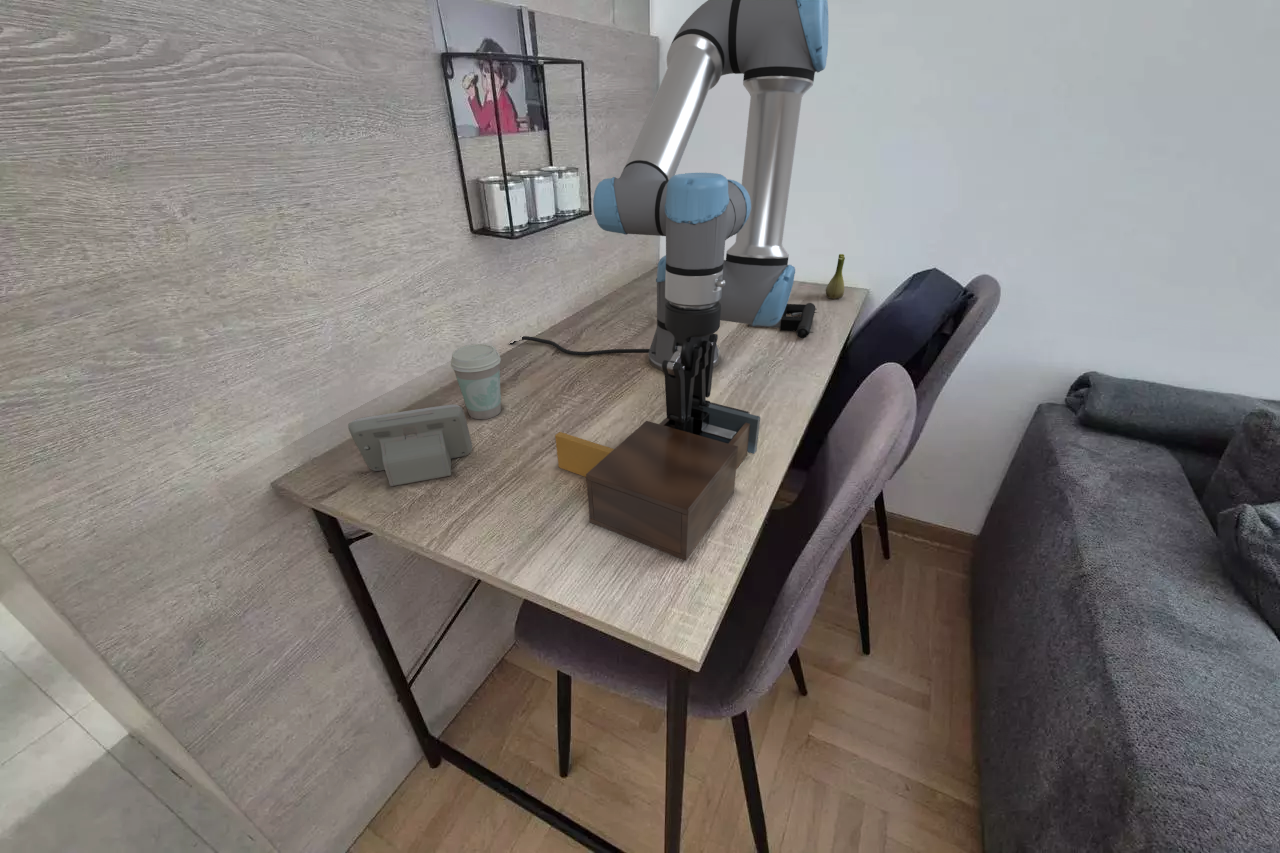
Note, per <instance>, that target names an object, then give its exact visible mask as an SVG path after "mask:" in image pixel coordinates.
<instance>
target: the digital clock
mask: <svg viewBox="0 0 1280 853" xmlns="http://www.w3.org/2000/svg"><path fill="white" fill-rule="evenodd" d="M347 427H348V431H349V433H350V436H351V438H352V440H353V441H354V443H355V445H356V447H357V449H358V451H359V453H360V455H361V457H362V459H363V461H364V462H365V465H366V466H367V468H369V469H370V470H371V471H372V472H378V471H379V472H380V471H385V474H386V477H387V481H388V483H389V487H396V486H402V485H406V484H413V483H419V482H423V481H428V480H434V479H439V478H440V479H441V478H446V477H450V476H452V459H456V458H462V457H465V456H468V455H469V454H471V453H472V451H473V442H472V438H471V435H470V430H469V426H468V422H467V417H466V413H465V411H464V409H463V407H462V406H460V405H458V404H455V403H454V404H444V405H439V406H430V407H424V408H418V409H412V410H411V409H410V410H404V411H398V412H391V413H383V414H378V415H377V414H376V415H372V416H371V415H370V416H366V417H359V418H356V419H354V420H352V421H350V422H349V423H348V425H347Z"/></svg>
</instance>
